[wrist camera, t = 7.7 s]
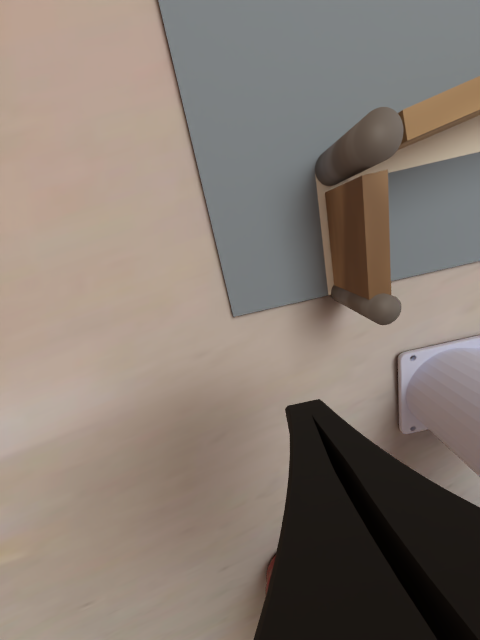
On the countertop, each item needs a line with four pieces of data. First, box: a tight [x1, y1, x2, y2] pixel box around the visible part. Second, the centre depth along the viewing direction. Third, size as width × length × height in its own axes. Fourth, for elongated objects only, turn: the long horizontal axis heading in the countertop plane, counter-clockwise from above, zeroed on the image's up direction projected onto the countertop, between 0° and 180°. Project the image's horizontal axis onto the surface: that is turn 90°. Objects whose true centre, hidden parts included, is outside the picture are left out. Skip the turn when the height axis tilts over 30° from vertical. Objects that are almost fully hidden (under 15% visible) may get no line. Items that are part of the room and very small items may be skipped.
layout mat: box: [158, 0, 480, 317], centre depth 15 cm, size 22×20×1 cm
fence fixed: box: [315, 107, 403, 325], centre depth 14 cm, size 2×10×5 cm, turn 12°
